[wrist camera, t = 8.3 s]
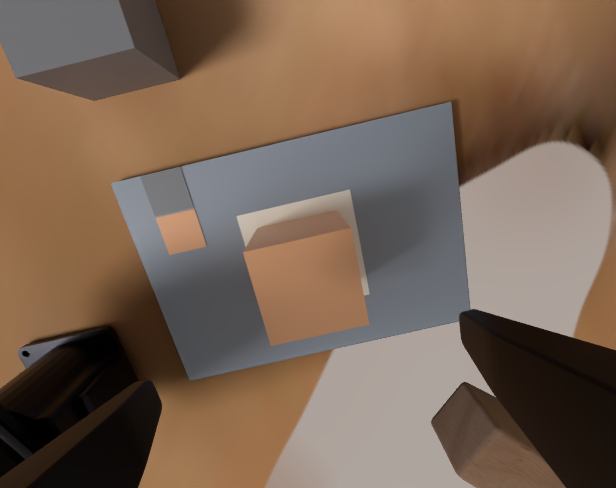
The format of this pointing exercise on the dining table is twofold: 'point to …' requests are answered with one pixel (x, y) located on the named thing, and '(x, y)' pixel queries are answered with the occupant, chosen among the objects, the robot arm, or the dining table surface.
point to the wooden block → (489, 443)
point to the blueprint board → (294, 205)
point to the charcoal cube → (87, 45)
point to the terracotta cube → (306, 277)
